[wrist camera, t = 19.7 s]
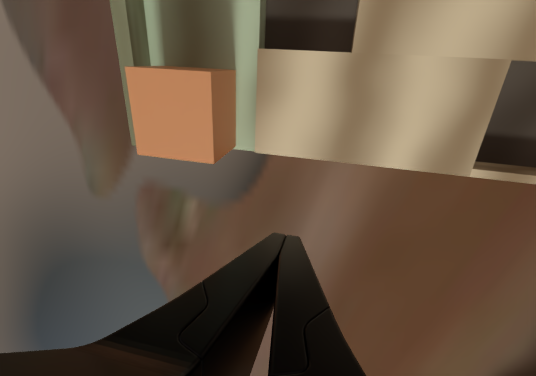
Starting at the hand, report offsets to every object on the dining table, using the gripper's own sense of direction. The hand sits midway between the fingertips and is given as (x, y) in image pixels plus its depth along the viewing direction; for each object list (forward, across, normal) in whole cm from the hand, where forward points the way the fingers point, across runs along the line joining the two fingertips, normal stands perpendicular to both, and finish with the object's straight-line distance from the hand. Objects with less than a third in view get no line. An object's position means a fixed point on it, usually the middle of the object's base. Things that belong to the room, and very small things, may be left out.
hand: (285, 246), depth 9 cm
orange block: (+11, +8, -2) cm, 14 cm away
